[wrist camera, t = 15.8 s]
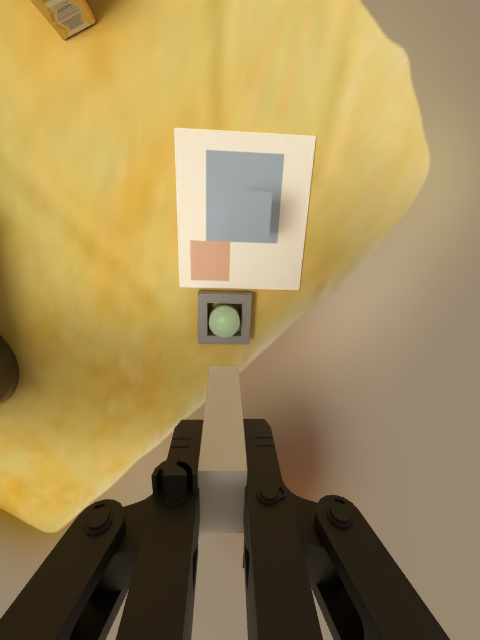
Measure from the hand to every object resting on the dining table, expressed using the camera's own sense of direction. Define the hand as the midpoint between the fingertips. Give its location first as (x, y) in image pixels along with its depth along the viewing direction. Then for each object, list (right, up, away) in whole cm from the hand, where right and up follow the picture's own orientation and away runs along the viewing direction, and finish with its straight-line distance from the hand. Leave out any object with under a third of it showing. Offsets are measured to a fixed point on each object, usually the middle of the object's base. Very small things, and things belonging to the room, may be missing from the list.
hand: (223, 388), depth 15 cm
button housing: (-1, +4, +24) cm, 25 cm away
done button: (-1, +4, +24) cm, 24 cm away
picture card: (+1, +17, +20) cm, 26 cm away
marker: (+1, +16, +20) cm, 25 cm away
